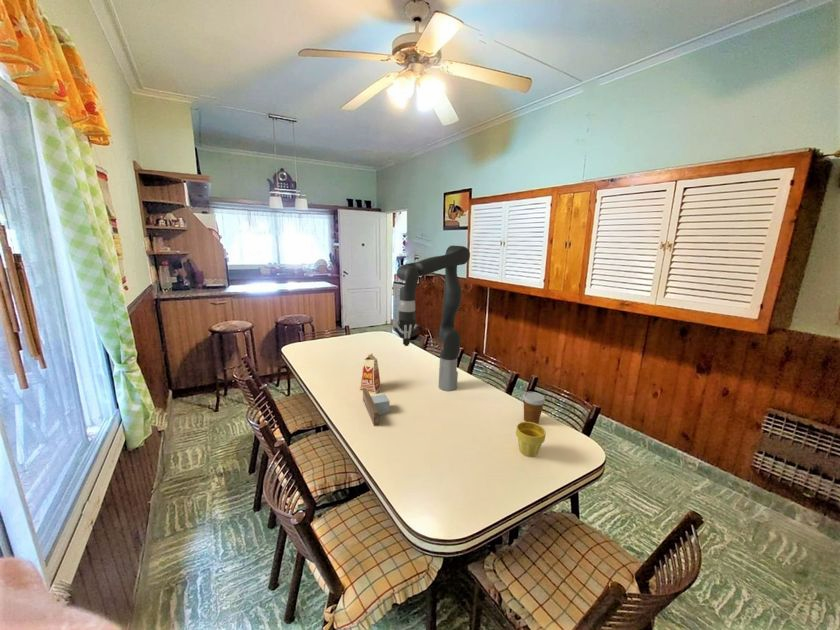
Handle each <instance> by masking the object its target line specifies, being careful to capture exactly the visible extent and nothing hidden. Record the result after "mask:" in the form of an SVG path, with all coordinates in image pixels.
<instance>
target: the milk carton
mask: <svg viewBox="0 0 840 630" xmlns="http://www.w3.org/2000/svg"><path fill="white" fill-rule="evenodd" d="M378 363H379V362H378V358H376V357H375V355H373V352H371V353H369V354H368V355H367V357H365V359H364V362H363V366H362V372H361V373H362V375H361V380H360V386H359V389H358V392H361V391H362V392H361V393H363V389H364V388H367V389H368V391H369V394H373V395H374V394H377V393H378V391H379V390H380V388H381V377H380V369H379V364H378Z"/></svg>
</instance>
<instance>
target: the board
mask: <svg viewBox="0 0 840 630" xmlns="http://www.w3.org/2000/svg"><path fill="white" fill-rule="evenodd" d="M362 401H363V403H365V404H364V406H365V408H366V411H367V413H368V415H369V418H370V421H371V423H372V425H373V427H374V426H375V427H376V426H379V415H378V410H377V408H376V406H375V404H374V402H373V400H372V398H371V393H369V391H368V389H367V388H364V389H363V392H362Z"/></svg>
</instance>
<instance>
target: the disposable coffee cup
mask: <svg viewBox="0 0 840 630" xmlns="http://www.w3.org/2000/svg"><path fill="white" fill-rule="evenodd" d="M522 399H523V422H532V423H536V424H538V425H539V423H540V418H541V415H542V411H543V407H544V405H545V403H546V398H545V396H544V395H543V394H541V393H539V392H535V391H526V392H524V394H523V395H522Z"/></svg>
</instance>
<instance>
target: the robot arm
mask: <svg viewBox="0 0 840 630" xmlns="http://www.w3.org/2000/svg"><path fill="white" fill-rule="evenodd" d="M470 253H471V252H470V250H469V248H468V247H466V246H464V245H463V246H462V245H449V246H448V247H447V249H446V251H445V254H443V255H436V256H432V257H426V258H424V259H421V260H419V261H416V262H410V263H406V264H402V265H401V266H399V267H398V269H397V271H396V276H397V277H398V279H399V280H400V281H404V286H401V287H400V289H399V301H398V302H399V303H398V322H397V324H396V325H395V326H393V327H392V329H393V330H394V331H395V332H396V333H397V335H398V336H399V337H400V338H402V344H403V346H404V347H409V346H410V340H411V338H413V337H414V336H415V335H416V334H417V332H418V331H419V330H420V328H421V327H420V325H418V324H417V323H416V290H417V287H418V283H419V279H420V277H423V276H424V277H425V276H427V275H430V274H432V273H435V272H438V271H441V270H444V271H445V272H444V274H445V275H444V276H445V277H444V289H443V297H442V300H443V301H442V311H441V312H442V313H441V321H440V327H439V333H438V337H439V340H440V341H441V342H442V343H443V348H442V350H441V351H440V352H439V367H438V388H439V389H440V390H442V391H446V392H451V391H453V390H455V389H457V388H458V379H459V378H458V375H459V372H458V370H457V368H458V367H457V366H458V355H459V352H460V347H461V335H460V332H459V331H458V330H456V329H455V320H456V315H457V313H458V311H459V309H460V307H461V304H462V295H463V291H462V285H461V282H460V280H459V278H458V266H462V265H465V264H467V263H468V261H469V260H470V258H471V257H470V256H471V254H470ZM399 330H401V332H400V331H399Z"/></svg>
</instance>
